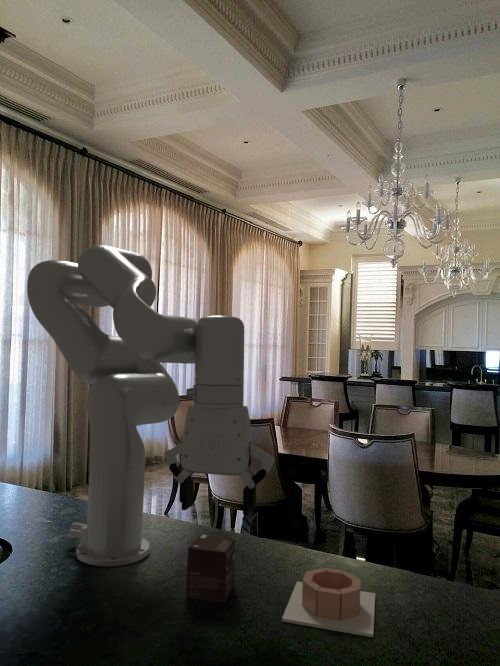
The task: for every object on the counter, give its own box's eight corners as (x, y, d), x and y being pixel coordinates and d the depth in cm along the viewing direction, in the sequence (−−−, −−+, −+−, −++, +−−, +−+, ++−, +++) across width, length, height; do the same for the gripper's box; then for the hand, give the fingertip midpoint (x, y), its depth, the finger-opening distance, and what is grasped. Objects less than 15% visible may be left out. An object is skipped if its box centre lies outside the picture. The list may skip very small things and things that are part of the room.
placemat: (281, 621, 68) (281, 618, 68) (297, 583, 80) (297, 581, 80) (373, 637, 65) (373, 634, 65) (375, 595, 77) (375, 593, 77)
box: (224, 604, 73) (226, 552, 73) (184, 598, 74) (186, 547, 74) (234, 585, 79) (236, 537, 79) (197, 580, 80) (199, 533, 80)
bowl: (299, 613, 70) (299, 587, 70) (307, 588, 77) (308, 565, 78) (358, 623, 68) (358, 597, 68) (361, 597, 75) (361, 573, 75)
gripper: (156, 396, 76) (153, 512, 75) (268, 399, 72) (267, 523, 71) (176, 394, 83) (174, 499, 82) (279, 396, 79) (278, 508, 78)
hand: (217, 510), depth 76 cm, fingers open, 9 cm apart
